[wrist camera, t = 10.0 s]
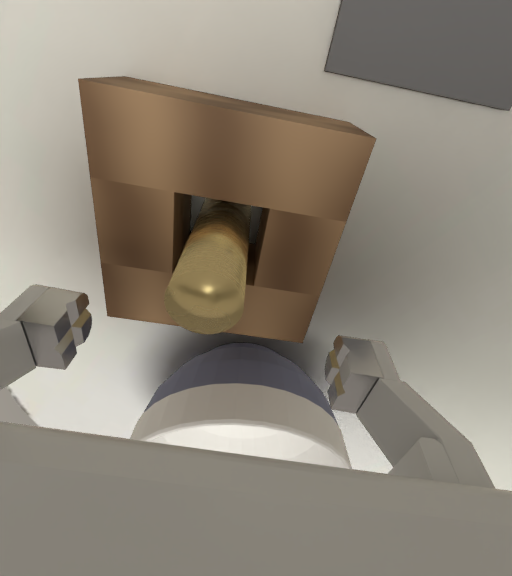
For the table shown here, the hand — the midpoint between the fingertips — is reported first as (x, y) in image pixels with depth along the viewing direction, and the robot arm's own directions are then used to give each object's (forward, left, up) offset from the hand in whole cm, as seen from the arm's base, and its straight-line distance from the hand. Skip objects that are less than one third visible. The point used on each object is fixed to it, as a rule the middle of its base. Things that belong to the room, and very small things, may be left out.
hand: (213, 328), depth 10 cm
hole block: (+1, 0, -12) cm, 12 cm away
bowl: (-3, +16, -12) cm, 20 cm away
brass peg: (+1, 0, -12) cm, 12 cm away
